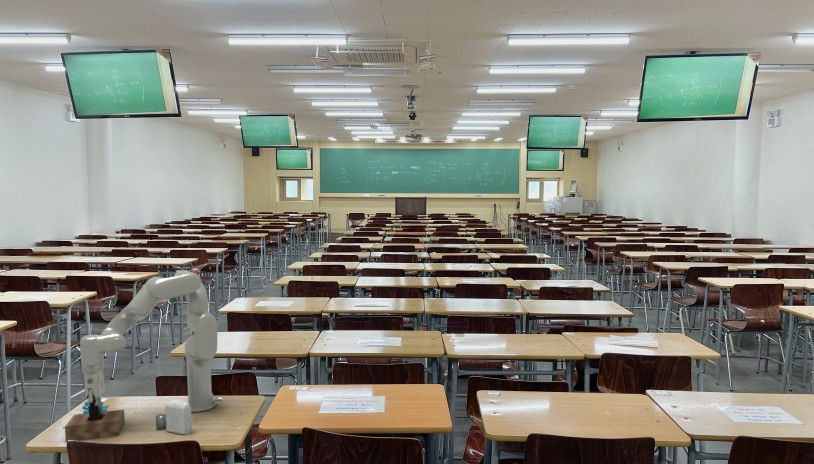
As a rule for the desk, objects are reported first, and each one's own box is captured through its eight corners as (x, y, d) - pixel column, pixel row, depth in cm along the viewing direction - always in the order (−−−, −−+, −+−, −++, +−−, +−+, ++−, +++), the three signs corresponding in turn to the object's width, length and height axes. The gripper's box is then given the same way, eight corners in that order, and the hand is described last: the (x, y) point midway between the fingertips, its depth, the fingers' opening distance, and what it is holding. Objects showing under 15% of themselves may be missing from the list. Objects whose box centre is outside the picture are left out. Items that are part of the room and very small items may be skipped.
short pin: (168, 425, 228) (167, 413, 228) (166, 429, 225) (166, 416, 224) (157, 426, 227) (156, 414, 227) (155, 430, 223) (155, 418, 223)
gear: (89, 421, 230) (80, 400, 234) (82, 429, 232) (73, 409, 236) (114, 415, 240) (105, 395, 244) (107, 423, 242) (98, 404, 245)
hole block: (124, 423, 231) (124, 409, 230) (118, 435, 219) (117, 420, 219) (74, 429, 226) (74, 414, 225) (65, 442, 214) (64, 426, 214)
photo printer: (193, 431, 222) (192, 400, 221) (185, 435, 218) (184, 403, 217) (173, 427, 226) (171, 397, 225) (164, 432, 222) (163, 400, 221)
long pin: (102, 416, 225) (101, 391, 224) (100, 420, 221) (98, 394, 220) (91, 417, 223) (89, 392, 223) (88, 421, 220) (87, 396, 219)
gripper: (98, 372, 214) (101, 420, 215) (108, 360, 230) (111, 405, 231) (75, 374, 212) (78, 423, 213) (87, 362, 228) (90, 407, 229)
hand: (95, 413), depth 222 cm, fingers closed on long pin, 4 cm apart
